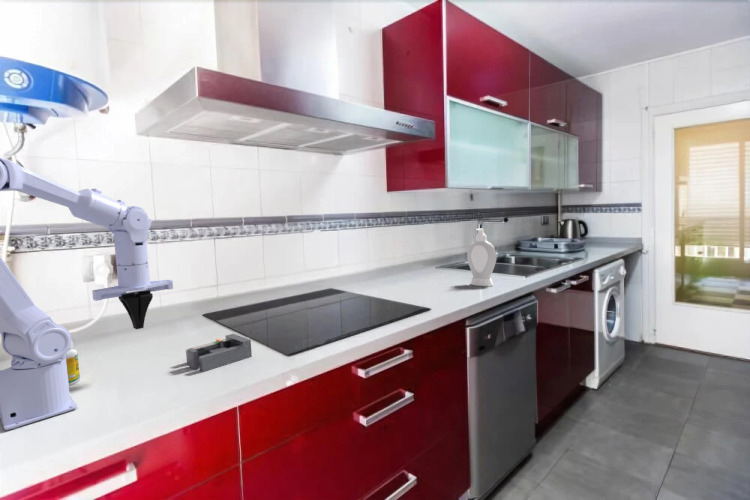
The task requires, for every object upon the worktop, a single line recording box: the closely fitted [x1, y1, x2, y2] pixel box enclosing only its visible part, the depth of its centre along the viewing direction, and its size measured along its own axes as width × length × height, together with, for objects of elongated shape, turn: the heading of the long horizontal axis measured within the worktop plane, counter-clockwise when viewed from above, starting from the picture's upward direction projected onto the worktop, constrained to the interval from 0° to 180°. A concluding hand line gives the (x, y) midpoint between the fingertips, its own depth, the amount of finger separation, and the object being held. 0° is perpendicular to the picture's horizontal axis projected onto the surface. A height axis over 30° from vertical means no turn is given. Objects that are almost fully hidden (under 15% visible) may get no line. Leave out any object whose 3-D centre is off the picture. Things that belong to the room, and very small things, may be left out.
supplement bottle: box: [65, 341, 81, 387], centre depth 81 cm, size 5×5×8 cm
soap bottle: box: [466, 227, 497, 287], centre depth 169 cm, size 13×8×24 cm, turn 53°
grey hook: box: [186, 338, 227, 371], centre depth 91 cm, size 8×6×4 cm
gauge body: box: [185, 333, 253, 373], centre depth 92 cm, size 12×8×4 cm
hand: (138, 327), depth 85 cm, fingers closed
